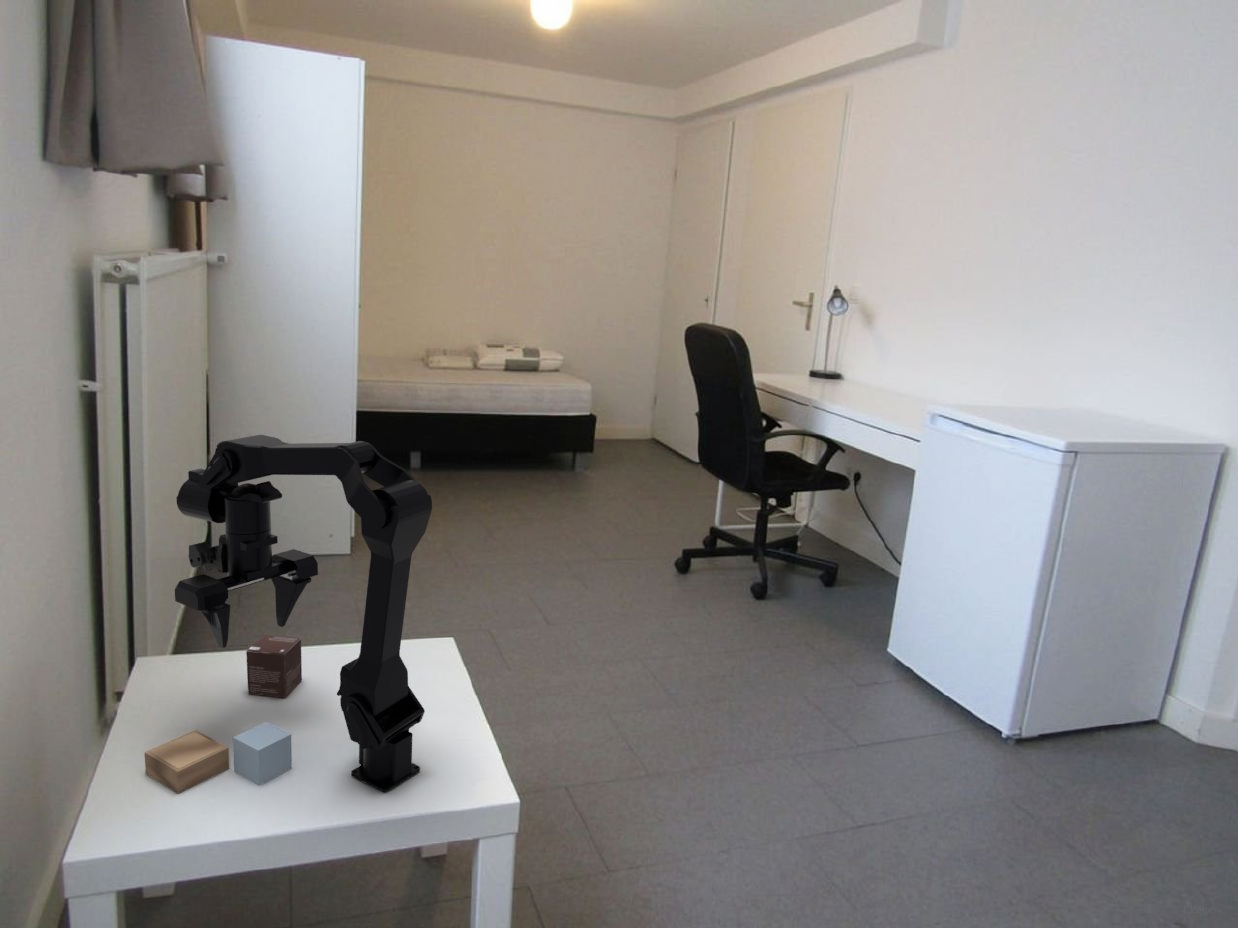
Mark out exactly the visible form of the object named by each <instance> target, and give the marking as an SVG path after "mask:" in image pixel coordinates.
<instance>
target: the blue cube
mask: <svg viewBox="0 0 1238 928" xmlns="http://www.w3.org/2000/svg"><path fill="white" fill-rule="evenodd" d="M292 744H293V743H292V733H290V732H288V731H286V730H284V729H282V728H280V727H279V726H276V725H274V724H272V723H270V722H268V721H265V722H263V723H261V724H259V725H256V726H254V727H252V728H250V729H248V730H246V731H243V732H242V733H239V734H238V735H235V736H233V737H232V745H233V746H232V749H233V751H232V752H233V771H234V773H236V774H238V775H239V776H242V777H243V778H245V779H247V780H248V781H251V782H252V783H254V784H256V785H258V786H260V785H263V784H264V783H267V782H268V781H270V780H273V779H274V778H275V777H277V776H280V775H281V774H283V773H285V772H286V771H289V770H290V769H292V767H293V762H292V761H293V758H292V757H293V756H292V749H293V748H292V747H293V745H292Z"/></svg>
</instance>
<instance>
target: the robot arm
mask: <svg viewBox="0 0 1238 928" xmlns="http://www.w3.org/2000/svg"><path fill="white" fill-rule="evenodd" d="M187 473H188V479H186V481H184V482H183V484H182V485H181V486H180V488H179V490H178V494H177V495H176V507H177V508H178V510H179V511H180V513H181V514H182V515H184V516H186V517H190V518H193V519H194V518H195V519H197V520H198V519H199V520H202V521H206V522H207V521H208V522H212V523H215V524H224V526H225V528H224V529H225V530H224V531H225V534H220V535H219V538H218V544H217V545H214V546H213V545H212V546H210V545H209V544H208V542H207V541H202V542H199V543H198V542H197V543H195V544H190V545H188V559H189V564H190V566H191V567H192V568H194V569H195V568H199V567H203V570H204V572H208V571H209V572H210V571H211V570H213V569H216V573H220V574H227V576H225V577H221V578H215V577H212V576H211V575H210V576H209V575H207V574H204V573H203V574H200V575H194V576H192V577H188V578H185V579H181V580H179V581H178V582H177V584H176V585H175V588H174V601H175V602H177V603H179V604H181V605H183V606H186V607H189V608H191V609H193V610H195V611H198V612H200V613H201V614H202V616H203V617H204V619H205V620H206V622H207V624H208V626H209V629H210V631H211V632H212V634H213V637H214V638H215V640H216V644H218V645H217V646H219V647H220V648H222V649H225V648H227V645H228V644H227V643H228V641H229V630H230V616H231V604H229V603H226V602H227V600H228V599H229V592H230V591H234V590H238V589H240V588H241V589H242V588H244V587H248V586H251V585H253V584H257V583H261V582H264V581H267V580H271V581H272V584H273V586H274V590H275V592H274V593H275V617H276V623H277V626H278V627H281V628H283V627H285V626H286V624H287V621H288V620H289V617H290V615H291V613H292V611H293V609H294V607H295V605H296V603H297V602H298V600H299V598H300V596H301V595H302V593H303V591H304V590H305V588H306V586H307V585H308V584H310V583H312V577H316V576H318V575H319V572H320V571H319V561H318V560H317V558H316V556H315V555H314V554H310V553H307V552H304V551H301V550H297V549H295V548H293V549H292V548H291V549H289V550H286V551H281V552H278V553H274V554H273V548H272V546H273V545H276V544H279V543H278V540H279V539H278V535H275V534H272V514H271V502H272V501H276V500H279V499H282V498H283V493H281V491H280V490H279V489H278V488H276V487H275V486H274V485H273V484H272V482H271V481H269V480H268V481H263V482H259V483H257V484H254V483H251V482H250V483H247V482H248V481H253V480H256V479H260V478H265V477H269V476H273V475H275V476H276V475H277V476H278V475H279V476H280V475H281V476H282V475H283V476H335V477H336V478H337V479H338V480H339V481H340V483H341V484H342V489H343V492H344V497H345V500H346V502H347V504H348V505H349V506H350V507H351V508H352V510H353V511H354V512H355V513H356V514H357V515H358V516H359V517H360V530H361V531H360V532H361V536H362V538H363V540H364V542H365V543H366V546H367V548H368V549H369V551H370V558H369V559H370V561H369V568H368V576H367V577H368V578H367V587H366V594H365V595H366V597H365V604H364V611H363V612H364V614H363V623H362V632H361V640H360V641H361V642H360V649H359V651H360V652H359V654H358V657H357V658H356V659H353V660H352V661H349V662H348V663H345V664H344V665H342V666H341V668H340V672H339V679H340V681H339V682H340V683H339V688H338V690H337V692H336V695H337V696H338V697H340V699H339V700H340V709H341V711H342V713H343V717H344V721H345V723H346V728H347V732H348V735H349V739H350V740H351V741H352V742H354V743H356V744H357V745H358V764H359V766H357V767H355V768H354V769H352V770H351V771H350V775H351V777H353V778H355V779H357V780H359V781H361V782H363V783H365V784H367V785H369V786H371V787H373V788H375V789H377V790H379V791H381V792H383V793H388V792H390V790H392V789H394V788H395V787H397V786H399V785H400V784H402V783H403V782H405V781H407V780H408V779H410V778H411V777H413V776H414V775H416V774H417V773H419V772H420V770H421V767H420V766H419V765H417V764H416V763H413V733H412V732H410V729H411V728H413V726H415V725H417V724H420V723H421V722H422V719H423V718H424V717H423V716H424V715H425V712H426V711H425V708H424V707H423V705H422V704H421V702H420V701H419V699H418V698H417V697H416V695H415V693H414V692H413V690H412V689H411V687H410V686H409V674H408V672H409V670H408V668H407V667H406V665H405V663H404V661H403V659H402V657H401V656H400V655H401V653H400V650H401V643H402V635H403V630H404V629H403V626H404V620H405V612H406V603H407V602H406V601H407V595H408V594H407V593H408V588H409V587H408V586H409V579H410V571H411V562H412V555H413V553H414V551H415V549H416V548H417V547H418V545H419V543H420V541H421V540H422V538H423V536H424V535H425V533H426V530H427V528H428V524H429V520H430V517H431V514H432V510H433V501H432V496H431V495H430V494H429V493H428V491H427V490H426V488H425V487H424V486H423V485H422V484H421V483H420V482H418V481H417V480H416V479H415V478H414V477H413V476H412V475H411V474H410V473H409V472H408V470H406V469H405V468H403V467H402V466H400V465H398V464H396V463H395V462H394V461H391V460H390V459H388V458H386V457H385V456H383V455H382V454H381V453H380V452H379V450H377V449H376V447H375V446H374V445H372V444H371V443H370V442H366V441H362V440H358V441H353V442H325V443H324V442H321V443H319V442H316V443H313V442H311V443H309V442H308V443H307V442H306V443H301V442H300V443H288V442H284V441H282V440H281V439H280V438H277V437H275V436H274V437H273V436H270V435H264V434H255V435H249V436H244V437H241V438H240V437H238V438H234V439H229V440H223V441H220V442H218V443H217V444H216V448H215V451H214V454H213V456H212V457H211V459H210V461H209V462H208V465H207V466H206V467H205V468H196V469H193V470H192V469H191V470H189V471H188V472H187ZM363 474H364V475H365V476H366V477H367V478H369V479H370V480H373V481H374V482H376V483H377V484H379V485H381V486H382V487H379V488H375V489H373V490H372V489H371V488H370V486H368V485H367V483H366V482H365V479H364V477H363ZM243 482H244V483H243ZM245 482H246V483H245ZM239 483H241V484H239Z"/></svg>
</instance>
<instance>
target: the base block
mask: <svg viewBox="0 0 1238 928" xmlns="http://www.w3.org/2000/svg"><path fill="white" fill-rule="evenodd" d="M229 751H230V750H229V747H228V746H226V745H225V744H223V743H220V742H219V741H217V740H215V739H213V738H211V737H210V736H207V735H206V734H204V733H202V732H200V731H198V730H197V729H193V730H192V731H190V732H188V733H185V734H183V735H181V736H179V737H175V738H173V739H171V740H169V741H167V742H165V743H163V744H160V745H158V746H156V747H153V748H151V749H148V750H146V751H145V752H144V766H145V767H144V768H145V770H144V771H145V774H146V775H148V776H149V777H151V778H153V779H154V780H155V781H158V782H159V783H161V784H162V785H164V786H166V787H167V788H168V789H170V790H172V791H173V792H176V793H177V794H180V793H182V792H185V791H186V790H188V789H190V788H193V787H194V786H196V785H199V784H201V783H202V782H205V781H206V780H209V779H211V778H212V777H215V776H216V775H218V774H221V773H223V772H226V770H227V771H228V770H229V769H230V753H229Z"/></svg>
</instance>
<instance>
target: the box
mask: <svg viewBox="0 0 1238 928" xmlns="http://www.w3.org/2000/svg"><path fill="white" fill-rule="evenodd" d="M245 653H246V654H245V655H246V671H247V672H246V673H247V674H246V675H247V677H246V678H247V692H248V695H256V696H257V695H258V696H267V697H268V696H269V697H277V698H287V697H288V696H289V694H291V692H293V690H294V689H295V688H296V687H297V686H298V685H299V684H300V683H301V682H302V680H303V678H302V677H303V676H302V670H303V669H302V638H300V637H299V638H298V637H290V636H280V635H279V636H278V635H271V634H265V635H263V636H262V637H261V638H259V640H257V641H256V642H255V643H254V644H253V645H251V646H250V647H249V648H248V649H247V650H246V651H245Z"/></svg>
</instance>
